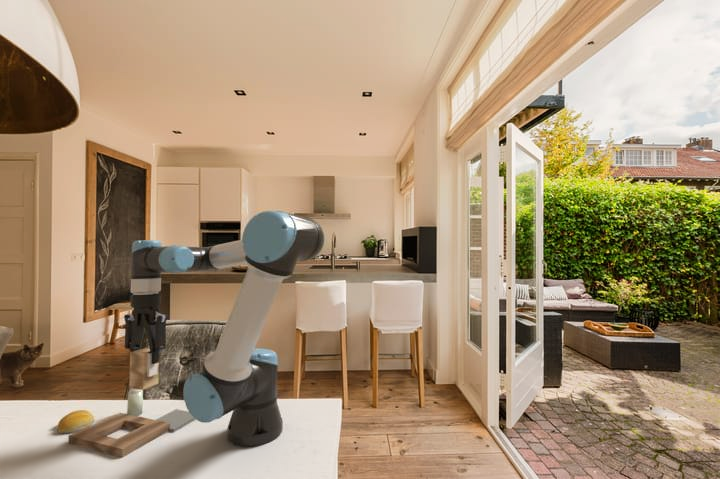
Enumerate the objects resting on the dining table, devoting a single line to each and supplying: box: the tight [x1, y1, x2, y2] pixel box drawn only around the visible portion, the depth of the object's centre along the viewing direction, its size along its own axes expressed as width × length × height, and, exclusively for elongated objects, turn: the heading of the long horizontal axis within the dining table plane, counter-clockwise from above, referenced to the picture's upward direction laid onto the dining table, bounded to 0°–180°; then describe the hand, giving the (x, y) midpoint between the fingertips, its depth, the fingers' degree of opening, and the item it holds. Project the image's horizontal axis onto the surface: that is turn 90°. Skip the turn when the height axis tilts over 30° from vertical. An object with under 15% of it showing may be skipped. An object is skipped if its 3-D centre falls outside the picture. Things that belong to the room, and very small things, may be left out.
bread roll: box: [57, 409, 95, 434], centre depth 99 cm, size 8×9×4 cm
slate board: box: [155, 408, 197, 433], centre depth 102 cm, size 10×10×1 cm
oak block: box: [128, 347, 160, 391], centre depth 97 cm, size 5×5×10 cm
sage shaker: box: [126, 388, 144, 417], centre depth 107 cm, size 4×4×9 cm
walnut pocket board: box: [67, 412, 170, 458], centre depth 94 cm, size 20×14×2 cm
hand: (144, 374), depth 97 cm, fingers closed on oak block, 5 cm apart
